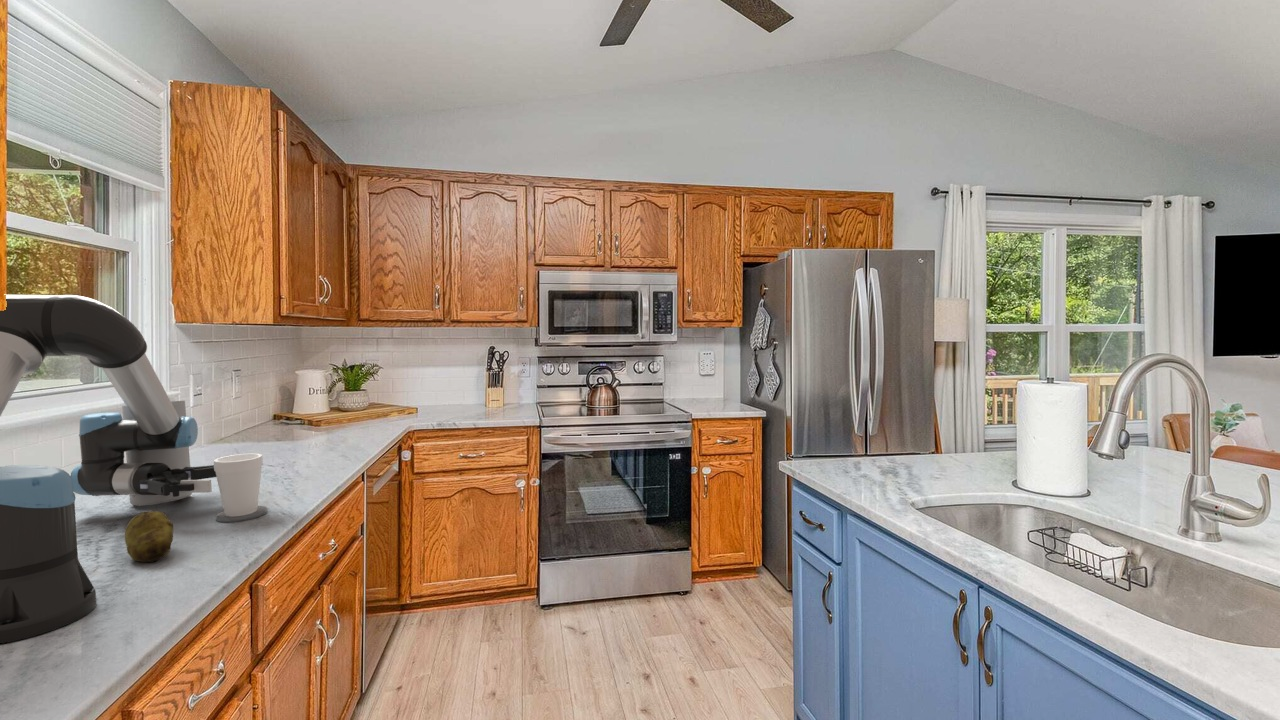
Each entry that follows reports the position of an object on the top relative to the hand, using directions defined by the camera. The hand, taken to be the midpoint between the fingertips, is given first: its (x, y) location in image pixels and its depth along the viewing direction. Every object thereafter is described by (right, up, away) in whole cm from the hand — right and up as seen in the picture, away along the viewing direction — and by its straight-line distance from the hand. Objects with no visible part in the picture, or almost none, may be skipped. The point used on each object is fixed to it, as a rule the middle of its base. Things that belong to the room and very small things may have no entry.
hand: (232, 478), depth 140 cm
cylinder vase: (-26, -8, +12) cm, 30 cm away
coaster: (+2, -9, 0) cm, 9 cm away
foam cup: (+2, -8, 0) cm, 8 cm away
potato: (+1, -10, -24) cm, 27 cm away
